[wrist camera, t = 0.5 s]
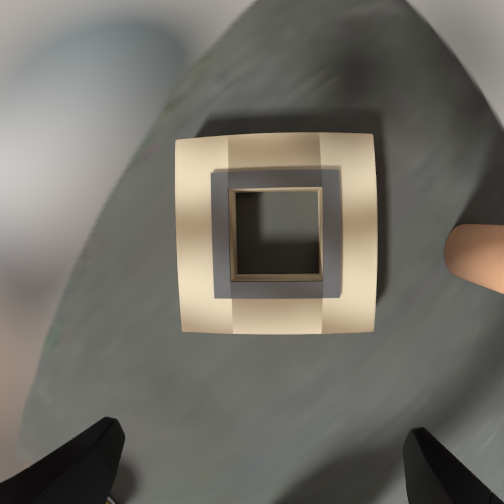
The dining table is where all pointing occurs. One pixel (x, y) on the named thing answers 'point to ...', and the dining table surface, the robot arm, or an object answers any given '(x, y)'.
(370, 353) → the dining table surface
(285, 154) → the socket block
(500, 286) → the peg
